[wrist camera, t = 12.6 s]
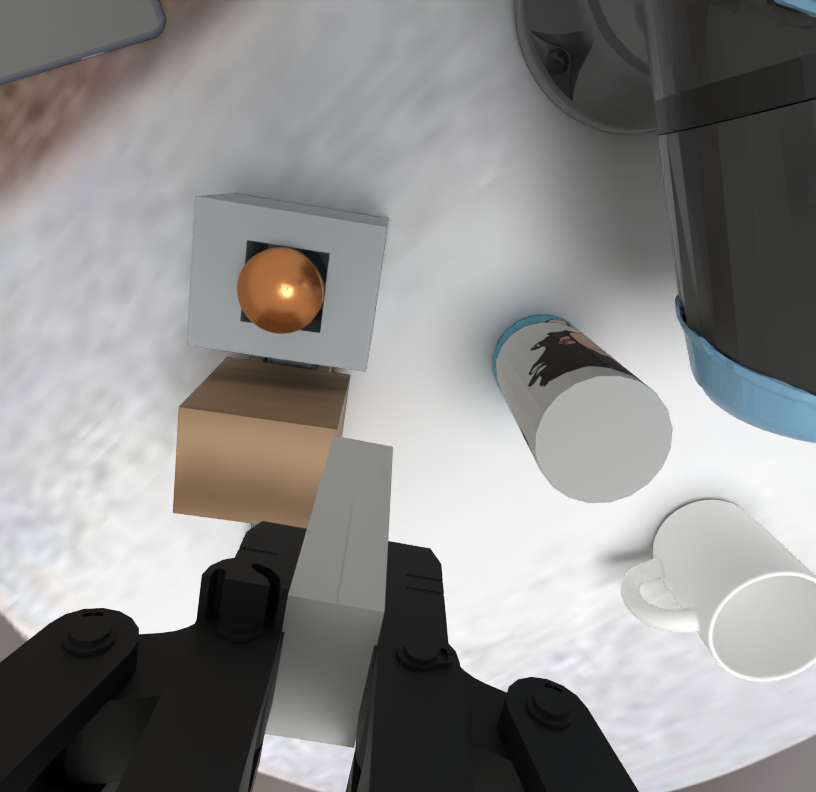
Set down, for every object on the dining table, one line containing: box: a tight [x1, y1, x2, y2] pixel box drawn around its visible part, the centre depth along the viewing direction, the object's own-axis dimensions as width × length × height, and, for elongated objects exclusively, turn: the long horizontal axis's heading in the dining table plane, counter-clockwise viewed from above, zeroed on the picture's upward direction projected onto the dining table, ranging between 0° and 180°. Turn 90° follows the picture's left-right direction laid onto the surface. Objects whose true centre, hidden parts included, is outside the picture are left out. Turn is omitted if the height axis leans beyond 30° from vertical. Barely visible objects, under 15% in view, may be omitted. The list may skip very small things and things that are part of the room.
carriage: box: [173, 355, 350, 529], centre depth 40 cm, size 6×8×13 cm
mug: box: [621, 500, 816, 682], centre depth 46 cm, size 12×8×10 cm
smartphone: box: [0, 0, 166, 85], centre depth 39 cm, size 8×1×15 cm
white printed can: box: [493, 315, 672, 503], centre depth 39 cm, size 7×7×15 cm
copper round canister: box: [237, 247, 326, 334], centre depth 37 cm, size 4×4×7 cm
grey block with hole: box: [187, 194, 389, 372], centre depth 40 cm, size 8×10×9 cm
